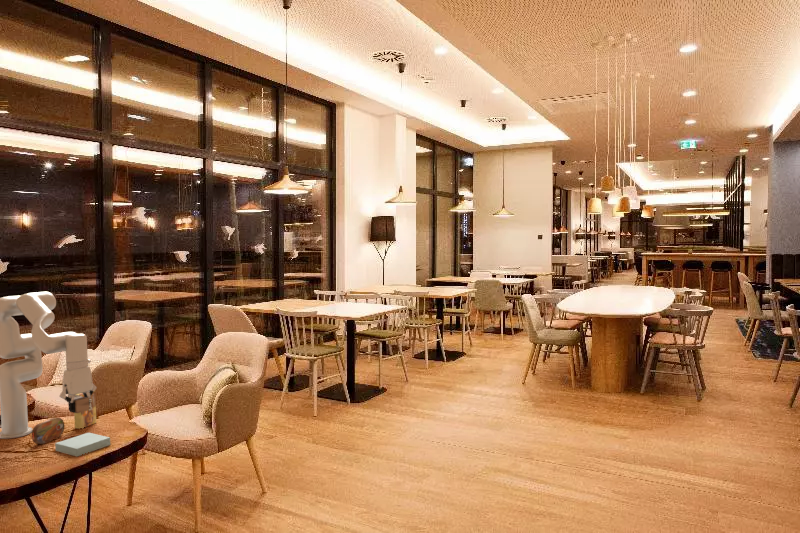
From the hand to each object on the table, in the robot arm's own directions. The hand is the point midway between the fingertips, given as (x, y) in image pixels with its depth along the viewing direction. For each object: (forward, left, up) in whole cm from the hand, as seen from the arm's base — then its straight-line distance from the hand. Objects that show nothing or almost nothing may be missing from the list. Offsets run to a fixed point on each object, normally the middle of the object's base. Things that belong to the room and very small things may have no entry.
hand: (79, 409), depth 232 cm
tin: (-22, 0, -16) cm, 27 cm away
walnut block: (0, 0, -1) cm, 1 cm away
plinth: (0, +1, -16) cm, 16 cm away
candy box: (-26, +19, -16) cm, 35 cm away
